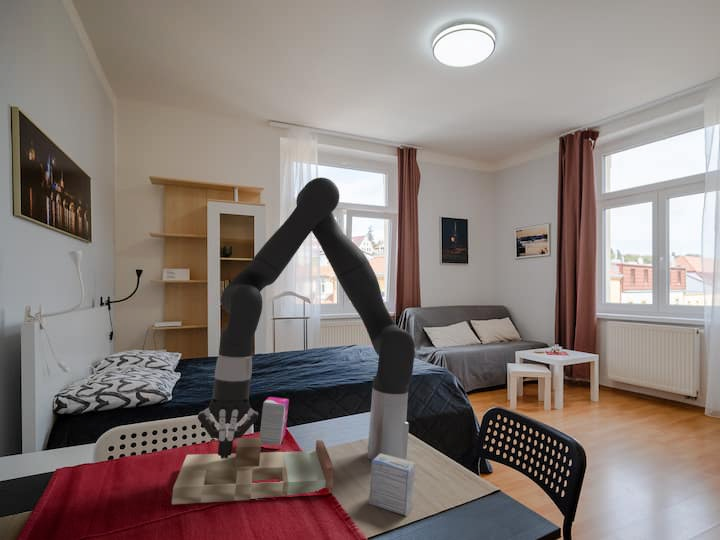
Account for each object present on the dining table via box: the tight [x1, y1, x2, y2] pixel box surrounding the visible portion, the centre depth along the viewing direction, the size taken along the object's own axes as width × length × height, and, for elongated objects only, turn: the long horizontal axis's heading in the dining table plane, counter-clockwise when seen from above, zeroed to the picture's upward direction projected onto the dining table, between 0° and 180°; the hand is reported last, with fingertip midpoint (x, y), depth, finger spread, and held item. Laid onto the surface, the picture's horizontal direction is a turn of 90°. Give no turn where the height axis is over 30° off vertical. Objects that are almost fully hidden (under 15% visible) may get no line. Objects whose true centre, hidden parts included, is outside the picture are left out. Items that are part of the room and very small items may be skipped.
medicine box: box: [368, 453, 416, 517], centre depth 76 cm, size 8×4×9 cm, turn 65°
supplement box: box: [258, 396, 290, 445], centre depth 100 cm, size 6×6×12 cm
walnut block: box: [235, 437, 262, 467], centre depth 83 cm, size 5×5×4 cm
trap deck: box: [171, 439, 335, 505], centre depth 81 cm, size 30×14×6 cm, turn 105°
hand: (224, 456), depth 82 cm, fingers closed
